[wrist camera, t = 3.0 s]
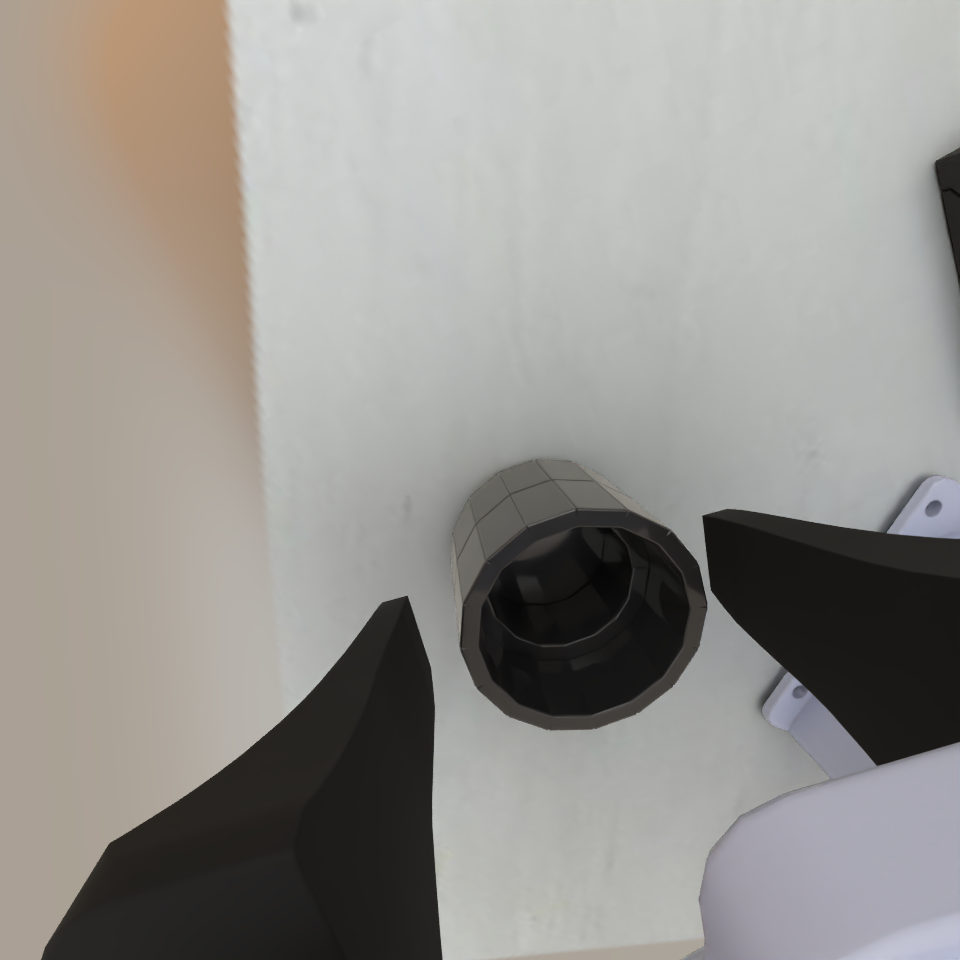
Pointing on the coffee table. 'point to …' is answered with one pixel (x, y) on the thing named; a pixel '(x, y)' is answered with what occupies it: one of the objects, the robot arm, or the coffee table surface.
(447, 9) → the coffee table surface
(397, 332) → the coffee table surface
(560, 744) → the coffee table surface
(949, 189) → the vhs tape
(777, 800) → the robot arm
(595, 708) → the black hollow cylinder
